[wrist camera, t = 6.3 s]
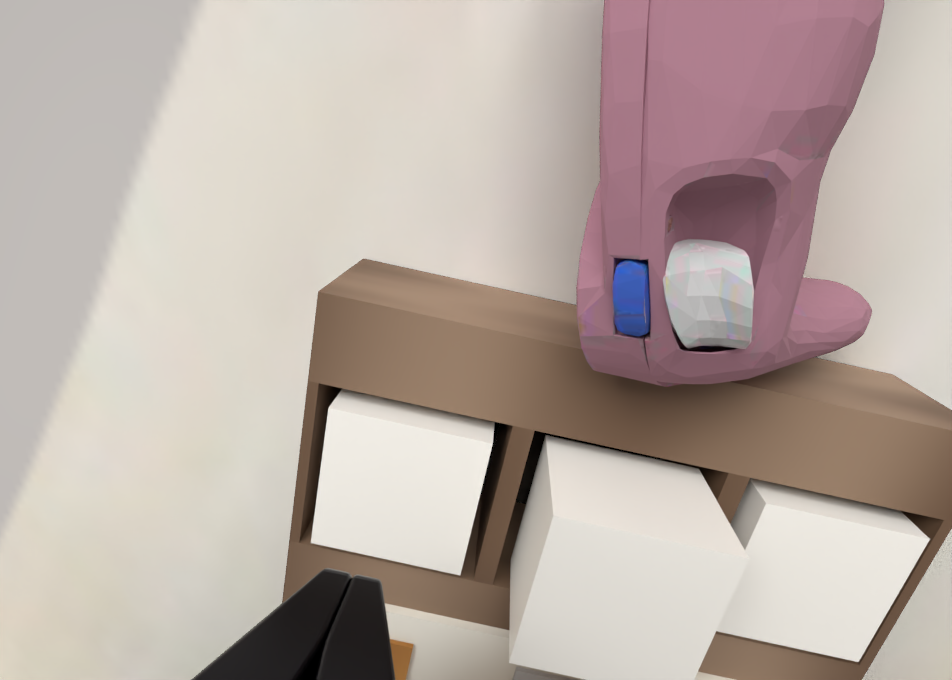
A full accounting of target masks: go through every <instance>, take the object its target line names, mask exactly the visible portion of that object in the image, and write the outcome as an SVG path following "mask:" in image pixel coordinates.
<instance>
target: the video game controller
mask: <svg viewBox="0 0 952 680" xmlns="http://www.w3.org/2000/svg"><path fill="white" fill-rule="evenodd" d="M883 8H884V0H604V14H603V31H602V62H601V99H600V136H599V139H600V182H599V185H598V187H597V189H596V192H595V195H594V199H593V202H592V205H591V209H590V212H589V216H588V219H587V224H586V229H585V234H584V239H583V244H582V249H581V254H580V261H579V269H578V278H577V287H576V290H577V323H578V329H579V335H580V342H581V348H582V350H583V353H584V355H585V358H586V360H587V362H588V364H589V365H590V367H591V368H592V370H594V371H598V372H602V373H607V374H612V375H616V376H621V377H625V378H630V379H634V380H638V381H643V382H647V383H651V384H656V385H660V386H664V387H668V386H673V385H679V384H715V383H723V382H730V381H737V380H744V379H749V378H752V377H755V376H758V375H761V374H764V373H767V372H770V371H773V370H776V369H779V368H782V367H785V366H788V365H791V364H794V363H797V362H800V361H804V360H807V359H810V358H813V357H817V356H820V355H823V354H826V353H830V352H833V351H836V350H838V349H840V348H842V347H844V346H847V345H849V344H851V343H853V342H855V341H856V340H857V339H859V338H860V337H861V336H862V335H863V334H864V332H865V330H866V328H867V325H868V323H869V320H870V317H871V314H872V309H871V307H870V305H869V304H868V302H867V301H866V300H865V299H864V298H863V297H862V295H861V294H859V293H858V292H856V291H854V290H853V289H851V288H850V287H848V286H845V285H843V284H840V283H837V282H834V281H829V280H821V279H811V278H802V277H803V274H804V270H805V266H806V262H807V258H808V253H809V247H810V241H811V235H812V228H813V222H814V216H815V210H816V204H817V198H818V192H819V186H820V181H821V178H822V175H823V172H824V169H825V166H826V163H827V160H828V157H829V154H830V151H831V149H832V147H833V146H834V144H835V142H836V140H837V138H838V137H839V135H840V133H841V131H842V129H843V128H844V126H845V124H846V122H847V120H848V118H849V117H850V115H851V113H852V111H853V109H854V106H855V103H856V101H857V98H858V96H859V93H860V90H861V88H862V85H863V83H864V80H865V77H866V75H867V72H868V70H869V67H870V64H871V62H872V59H873V57H874V54H875V49H876V43H877V38H878V33H879V28H880V23H881V18H882V13H883Z"/></svg>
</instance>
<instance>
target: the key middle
mask: <svg viewBox="0 0 952 680" xmlns="http://www.w3.org/2000/svg"><path fill="white" fill-rule="evenodd" d="M748 561H749V557H748V555H747V553H746V552H745V550H744V548H743V546H742V545H741V543H740V541H739V539H738V537H737V536H736V534H735V532H734V530H733V529H732V527H731V525H730V523H729V521H728V520H727V518H726V516H725V514H724V513H723V511H722V509H721V507H720V505H719V504H718V502H717V500H716V498H715V497H714V495H713V493H712V491H711V489H710V488H709V486H708V484H707V482H706V481H705V479H704V477H703V475H702V473H701V472H700V470H699V469H698V468H694V467H689V466H685V465H680V464H676V463H671V462H666V461H662V460H657V459H653V458H648V457H644V456H639V455H634V454H630V453H625V452H621V451H616V450H612V449H607V448H602V447H598V446H593V445H589V444H584V443H580V442H575V441H570V440H566V439H561V438H557V437H552V436H548V435H545V439H544V442H543V446H542V450H541V453H540V457H539V460H538V464H537V467H536V471H535V475H534V478H533V482H532V485H531V489H530V492H529V496H528V499H527V503H526V507H525V510H524V514H523V517H522V521H521V524H520V528H519V531H518V535H517V539H516V542H515V546H514V549H513V553H512V556H511V567H510V627H509V663H512V664H516V665H521V666H526V667H530V668H535V669H539V670H544V671H548V672H553V673H558V674H562V675H567V676H571V677H576V678H581V679H585V680H694V679H695V677H696V674H697V672H698V670H699V668H700V666H701V663H702V661H703V659H704V657H705V655H706V653H707V650H708V648H709V646H710V644H711V642H712V639H713V637H714V635H715V633H716V631H717V628H718V626H719V624H720V622H721V620H722V618H723V615H724V613H725V611H726V609H727V607H728V604H729V602H730V600H731V598H732V596H733V593H734V591H735V589H736V587H737V585H738V583H739V580H740V578H741V576H742V574H743V572H744V569H745V567H746V565H747V563H748Z"/></svg>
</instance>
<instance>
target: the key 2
mask: <svg viewBox="0 0 952 680" xmlns="http://www.w3.org/2000/svg"><path fill="white" fill-rule="evenodd" d="M730 525H731V527H732V529H733V530H734V532H735V534H736V536H737V537H738V539H739V541H740V543H741V545H742V546H743V548H744V550H745V552H746V553H747V555H748V557H749V561H748V563H747V565H746V567H745V569H744V572H743V574H742V576H741V578H740V580H739V583H738V585H737V587H736V589H735V591H734V593H733V596H732V598H731V600H730V602H729V604H728V607H727V609H726V611H725V613H724V615H723V618H722V620H721V622H720V624H719V626H718V628H717V631H718V632H723V633H727V634H732V635H736V636H741V637H746V638H750V639H755V640H759V641H764V642H768V643H773V644H778V645H782V646H787V647H791V648H796V649H801V650H805V651H810V652H814V653H819V654H823V655H828V656H833V657H837V658H842V659H846V660H851V661H855V662H859V660H860V659H861V657H862V655H863V653H864V652H865V650H866V648H867V647H868V645H869V643H870V641H871V640H872V638H873V636H874V635H875V633H876V631H877V629H878V628H879V626H880V624H881V623H882V621H883V619H884V617H885V616H886V614H887V612H888V611H889V609H890V607H891V605H892V604H893V602H894V600H895V598H896V597H897V595H898V593H899V592H900V590H901V588H902V586H903V585H904V583H905V581H906V580H907V578H908V576H909V574H910V573H911V571H912V569H913V568H914V566H915V564H916V562H917V561H918V559H919V557H920V556H921V554H922V552H923V550H924V549H925V547H926V545H927V544H928V542H929V540H930V539H929V538H928V537H927V536H926V535H925V534H924V533H923V532H922V531H921V530H920V529H919V528H918V527H917V526H916V525H915V524H914V523H913V522H912V521H910V520H909V519H908V518H907V517H906V516H905V515H904V514H903V513H902V512H901V511H900V510H896V509H891V508H887V507H882V506H877V505H873V504H868V503H864V502H859V501H855V500H850V499H845V498H841V497H836V496H832V495H827V494H823V493H818V492H813V491H809V490H804V489H800V488H795V487H791V486H786V485H782V484H777V483H772V482H768V481H763V480H759V479H754V478H750V480H749V482H748V484H747V487H746V489H745V491H744V494H743V496H742V498H741V501H740V503H739V505H738V508H737V510H736V512H735V514H734V517H733V519H732V521H731V524H730Z"/></svg>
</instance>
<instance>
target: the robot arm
mask: <svg viewBox="0 0 952 680" xmlns="http://www.w3.org/2000/svg"><path fill="white" fill-rule="evenodd" d="M192 680H396V679H395V672H394V665H393V658H392V651H391V644H390V637H389V630H388V622H387V615H386V608H385V601H384V594H383V587H382V583H381V581H380V580H379V579H377V578H372V577H368V576H363V575H355V576H354V577H353V578H352V575H351V574H350V573H349V572H345V571H340V570H335V569H331V568H325V569H323V570H322V571H320V572H319V573H318V574H317V575H315V576H314V577H313V578H312V579H311V580H310V581H308V582H307V583H306V584H305V585H304V586H302V587H301V588H300V589H299V590H298V591H296V592H295V593H294V594H293V595H292V596H290V597H289V598H288V599H287V600H286V601H285V602H283V603H282V604H281V605H280V606H279V607H277V608H276V609H275V610H274V611H273V612H271V613H270V614H269V615H268V616H267V617H266V618H264V619H263V620H262V621H261V622H260V623H258V624H257V625H256V626H255V627H254V628H252V629H251V630H250V631H249V632H248V633H246V634H245V635H244V636H243V637H242V638H241V639H239V640H238V641H237V642H236V643H235V644H233V645H232V646H231V647H230V648H229V649H227V650H226V651H225V652H224V653H223V654H221V655H220V656H219V657H218V658H217V659H216V660H214V661H213V662H212V663H211V664H210V665H208V666H207V667H206V668H205V669H204V670H202V671H201V672H200V673H199V674H198V675H196V676H195V677H194V678H193V679H192Z"/></svg>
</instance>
